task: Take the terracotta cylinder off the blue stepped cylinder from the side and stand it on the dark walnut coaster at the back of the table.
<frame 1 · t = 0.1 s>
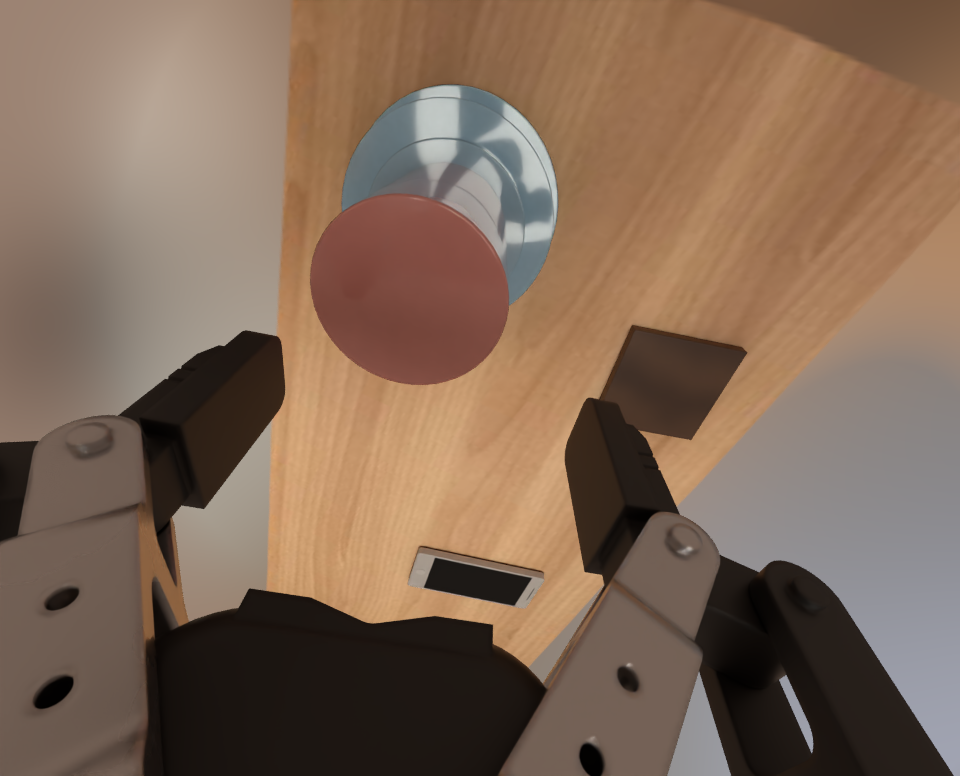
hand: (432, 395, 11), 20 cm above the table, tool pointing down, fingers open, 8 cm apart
terracotta cylinder: (445, 231, 21), point 7 cm above the table, touching blue stepped cylinder
blue stepped cylinder: (456, 208, 27), on the table
smartphone: (475, 574, 50), on the table
coaster: (662, 384, 34), on the table
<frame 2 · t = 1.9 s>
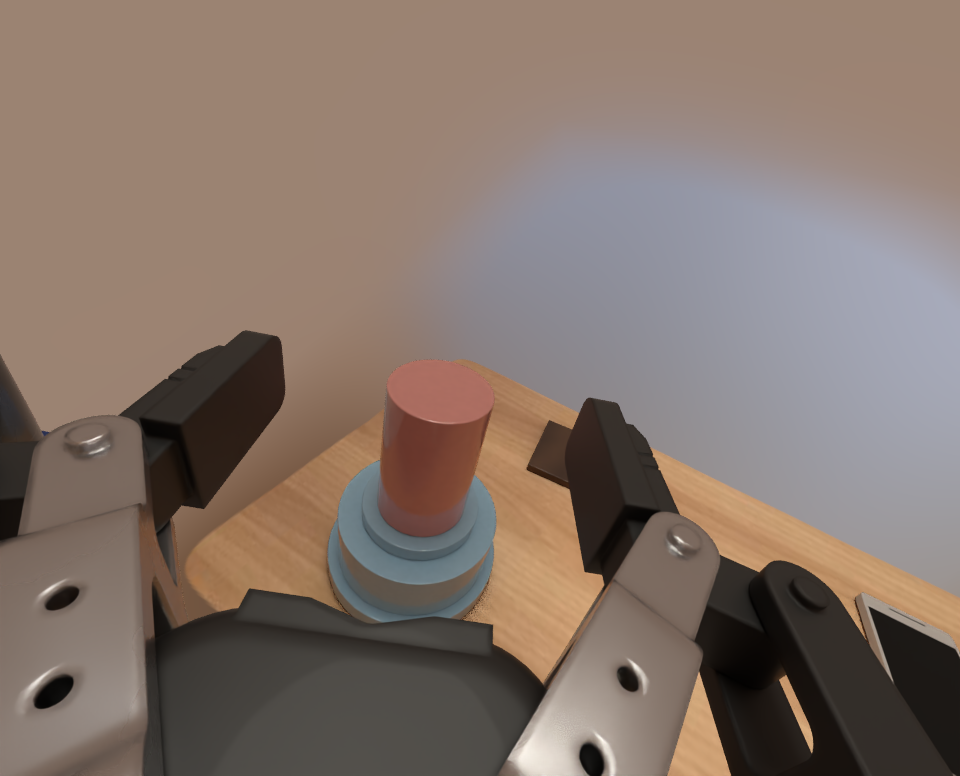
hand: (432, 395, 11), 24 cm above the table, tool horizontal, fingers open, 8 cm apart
terracotta cylinder: (422, 498, 30), point 7 cm above the table, touching blue stepped cylinder
blue stepped cylinder: (412, 551, 33), on the table
smartphone: (929, 703, 32), on the table
coaster: (574, 461, 46), on the table
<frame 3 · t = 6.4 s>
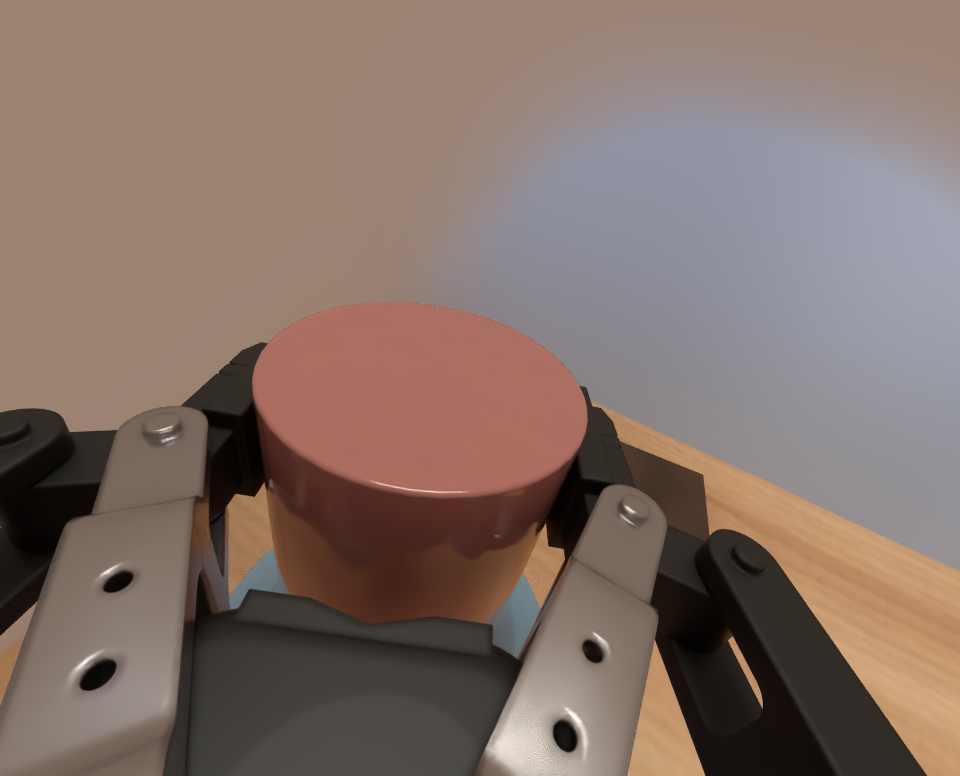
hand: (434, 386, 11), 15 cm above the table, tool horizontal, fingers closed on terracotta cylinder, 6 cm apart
terracotta cylinder: (393, 617, 14), point 7 cm above the table, touching gripper, blue stepped cylinder
blue stepped cylinder: (381, 694, 17), on the table
coaster: (640, 495, 30), on the table
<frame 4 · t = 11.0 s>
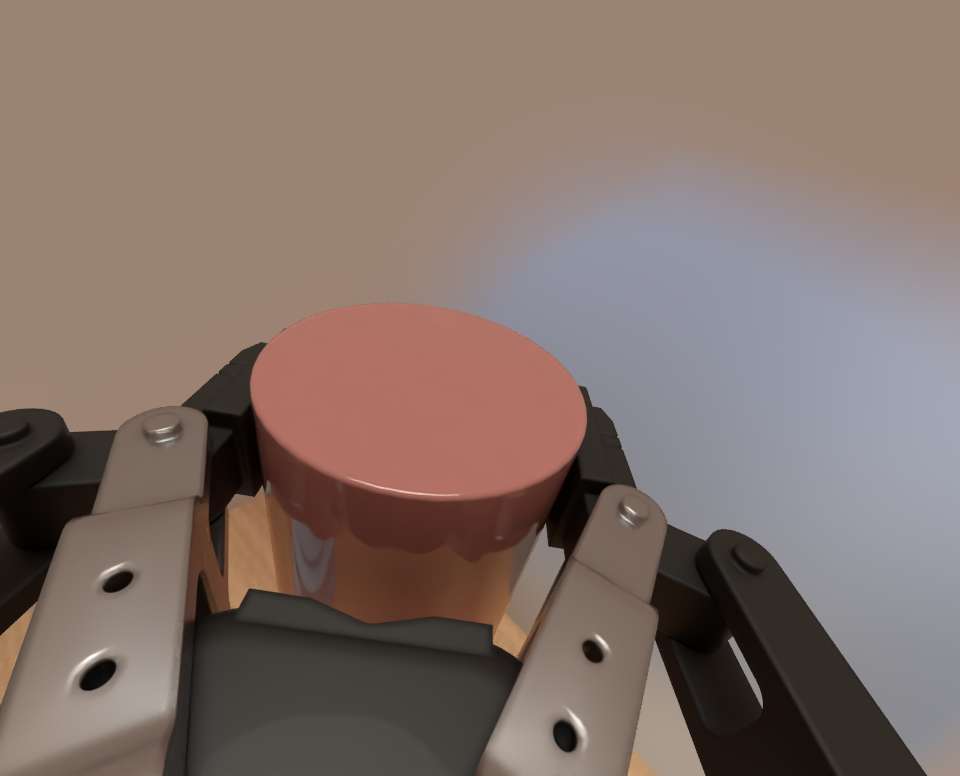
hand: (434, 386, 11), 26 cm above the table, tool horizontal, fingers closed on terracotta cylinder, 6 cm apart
terracotta cylinder: (392, 619, 14), point 18 cm above the table, touching gripper
when the fingers open (9 cm above the table, at t = 15.8 s): terracotta cylinder stays where it is, resting on coaster.
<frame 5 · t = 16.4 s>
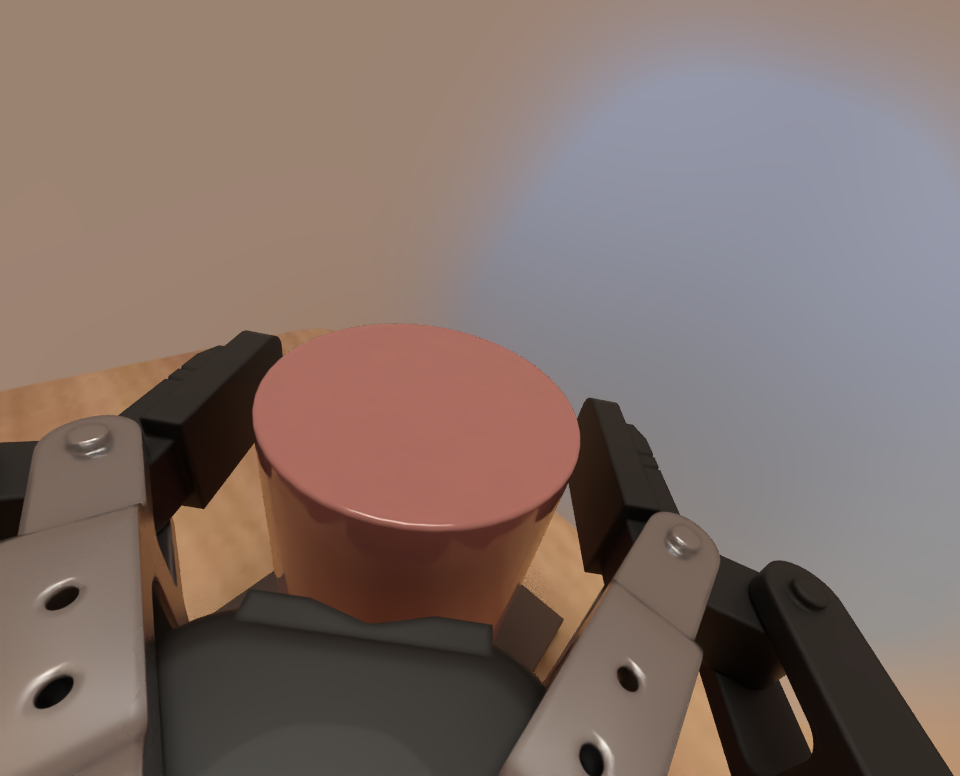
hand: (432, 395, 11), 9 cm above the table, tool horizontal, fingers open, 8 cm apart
terracotta cylinder: (392, 629, 14), point 1 cm above the table, touching coaster
coaster: (390, 636, 14), on the table
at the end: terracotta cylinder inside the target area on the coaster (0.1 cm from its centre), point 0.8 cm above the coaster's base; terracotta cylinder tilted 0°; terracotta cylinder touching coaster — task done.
